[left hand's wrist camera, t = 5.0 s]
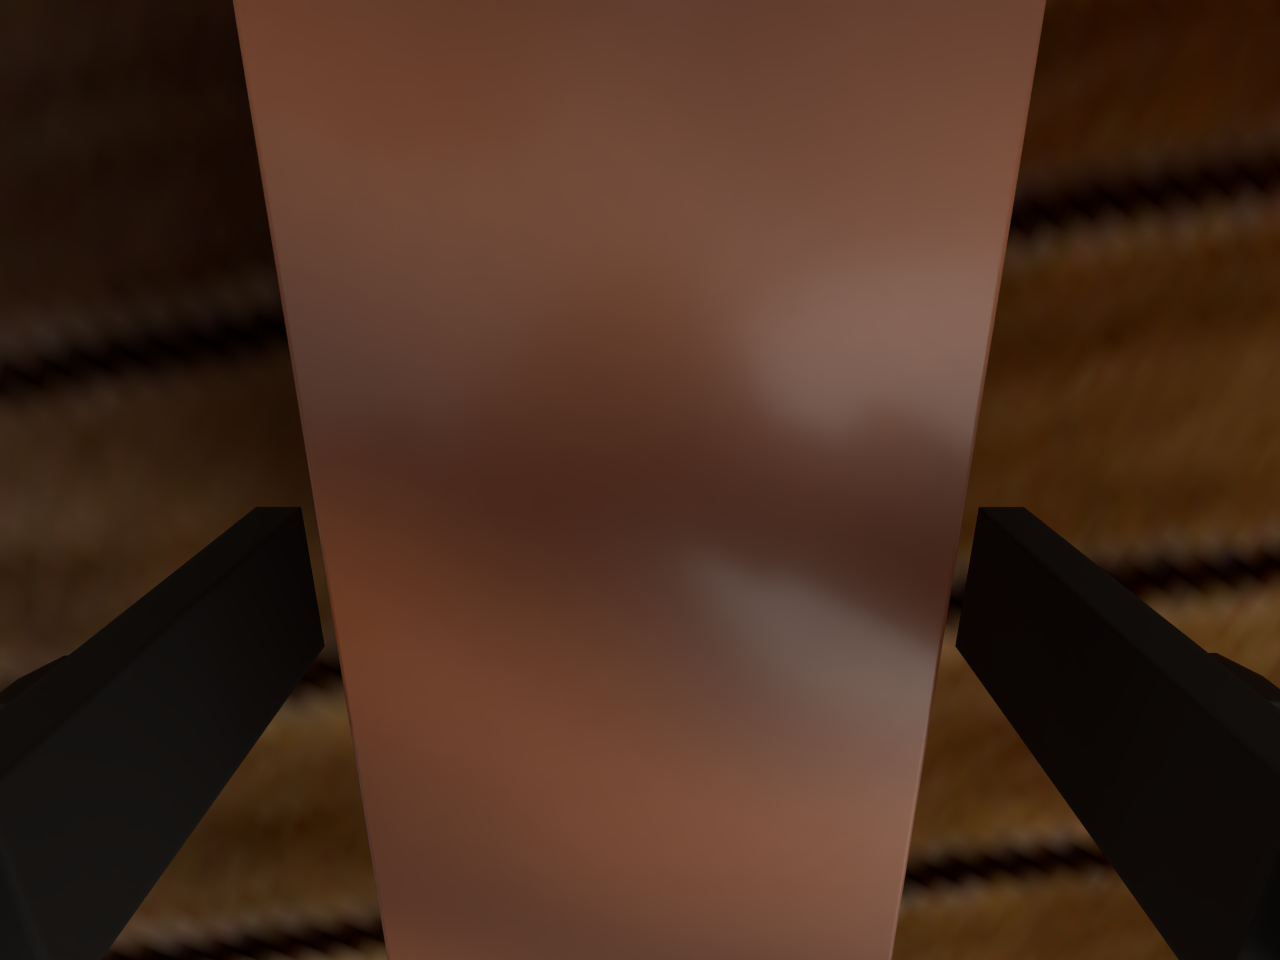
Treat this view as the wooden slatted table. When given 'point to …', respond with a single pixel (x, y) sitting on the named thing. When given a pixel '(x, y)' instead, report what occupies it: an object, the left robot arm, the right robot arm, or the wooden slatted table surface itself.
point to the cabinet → (639, 442)
